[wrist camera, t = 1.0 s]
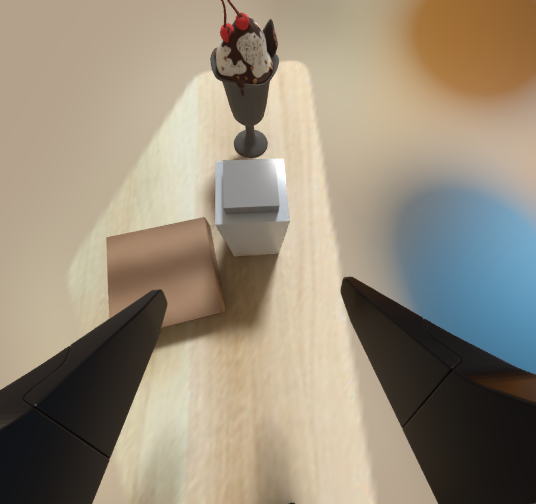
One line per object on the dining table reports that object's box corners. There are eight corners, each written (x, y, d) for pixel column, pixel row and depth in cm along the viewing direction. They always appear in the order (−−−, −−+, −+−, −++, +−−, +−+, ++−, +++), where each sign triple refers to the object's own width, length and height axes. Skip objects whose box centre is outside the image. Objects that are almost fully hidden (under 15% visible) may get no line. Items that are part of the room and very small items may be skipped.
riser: (226, 311, 23) (221, 312, 20) (130, 335, 22) (110, 340, 19) (210, 226, 25) (204, 217, 22) (124, 245, 24) (106, 237, 21)
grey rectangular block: (278, 253, 24) (291, 215, 13) (234, 256, 24) (211, 219, 13) (275, 213, 26) (284, 149, 15) (233, 215, 25) (212, 152, 15)
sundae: (223, 158, 27) (180, -3, 13) (234, 122, 29) (207, -55, 15) (268, 166, 27) (275, 13, 13) (276, 130, 29) (291, -42, 15)
